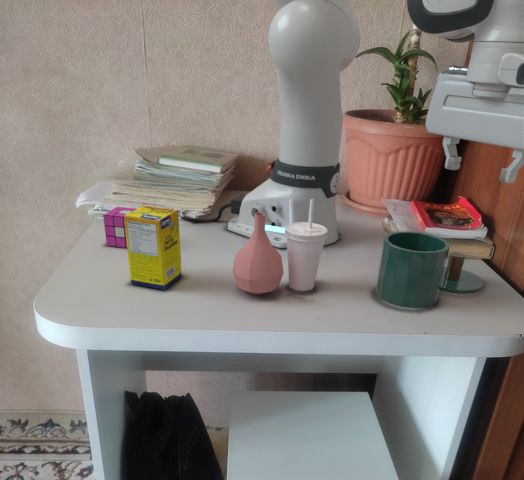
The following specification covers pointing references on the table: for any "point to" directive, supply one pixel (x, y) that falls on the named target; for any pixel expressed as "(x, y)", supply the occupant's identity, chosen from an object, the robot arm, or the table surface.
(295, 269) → the smoothie
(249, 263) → the pink vase
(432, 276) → the crock
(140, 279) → the supplement box
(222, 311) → the table surface
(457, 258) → the lid
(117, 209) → the puzzle toy
